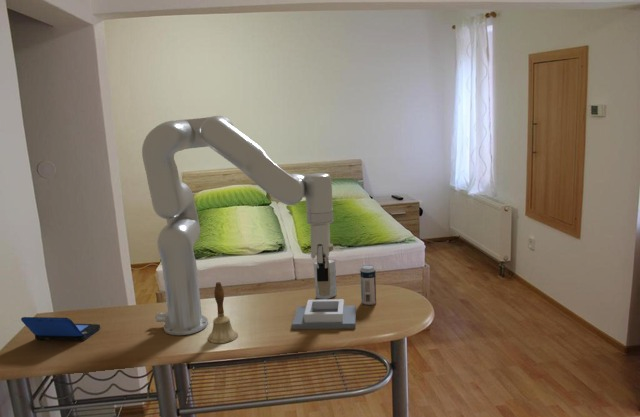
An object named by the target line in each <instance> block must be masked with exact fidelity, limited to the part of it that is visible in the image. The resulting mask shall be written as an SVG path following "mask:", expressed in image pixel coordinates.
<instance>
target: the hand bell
mask: <svg viewBox="0 0 640 417" xmlns="http://www.w3.org/2000/svg"><path fill="white" fill-rule="evenodd" d="M214 286H215V287H214V299H215V302H216V306H217V317H215V318H214V319H213V322H212V323H213V324H212V329H211V333H209V335H208V337H207V340H208V341H209V342H210V343H212V344H227V343H230V342H233V341H235V340H236V339H238V337H239V333H238V332H237V331H236V330H235V329H234V328H233V326H232V324H231V320H230V317H229V316H225V313H224V312H225V311H224V299H225V291H224V288H223V286H222V283H221V281H217V282H216V283H215V285H214Z"/></svg>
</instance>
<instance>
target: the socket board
mask: <svg viewBox="0 0 640 417" xmlns="http://www.w3.org/2000/svg"><path fill="white" fill-rule="evenodd" d="M356 319H357V306H356V305H355V304H354V305H345V299H343V298H341V299H339V298H337V299H335V298H334V299H333V298H332V299H331V298H329V299H325V300H322V299H307V302H306V305H302V306H301V305H299V306H297V307H296V311H295V314H294V317H293V321H292V323H291V329H292V330H312V329H313V330H328V329H329V330H330V329H331V330H334V329H336V330H337V329H343V330H344V329H345V330H346V329H350V330H351V329H356V326H357V321H356Z"/></svg>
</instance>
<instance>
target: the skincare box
mask: <svg viewBox="0 0 640 417" xmlns="http://www.w3.org/2000/svg"><path fill="white" fill-rule="evenodd" d="M329 268H330V278H331V285H330V295H327V296H320V295H319V289H318V284H317V261H316V262H314V263H313V273H314V274H313V275H314V286H315V290H314V291H315V298H316V299H318V300H325V299H331V298H333V297H336V296H337V295H338V289H337V276H336V274H337V273H336V261H335V260H331V259H329Z"/></svg>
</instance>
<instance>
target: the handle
mask: <svg viewBox="0 0 640 417" xmlns="http://www.w3.org/2000/svg"><path fill="white" fill-rule="evenodd" d="M333 250H334V243H331V242H330V247H329V253H331V252H332V251H333ZM316 256H317V254H316ZM323 257H325V255H323ZM329 260H330V258H329V257H328V258H327V267H328V279H329V280H328V281H320V282H319V281H317V284H318V289H319V295H320V296H327V295H330V285H331V278H330V268H329ZM323 261H324V262H325V260H323Z"/></svg>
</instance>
